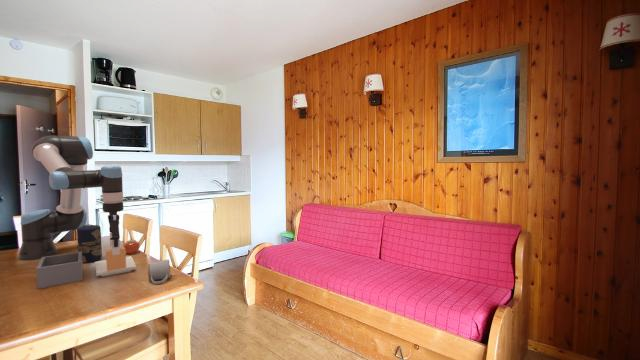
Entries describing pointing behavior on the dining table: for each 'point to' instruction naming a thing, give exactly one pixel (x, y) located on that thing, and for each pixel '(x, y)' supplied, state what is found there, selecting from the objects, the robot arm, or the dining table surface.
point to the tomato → (131, 246)
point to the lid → (114, 264)
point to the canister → (89, 242)
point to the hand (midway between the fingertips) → (115, 250)
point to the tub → (59, 269)
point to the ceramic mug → (159, 271)
